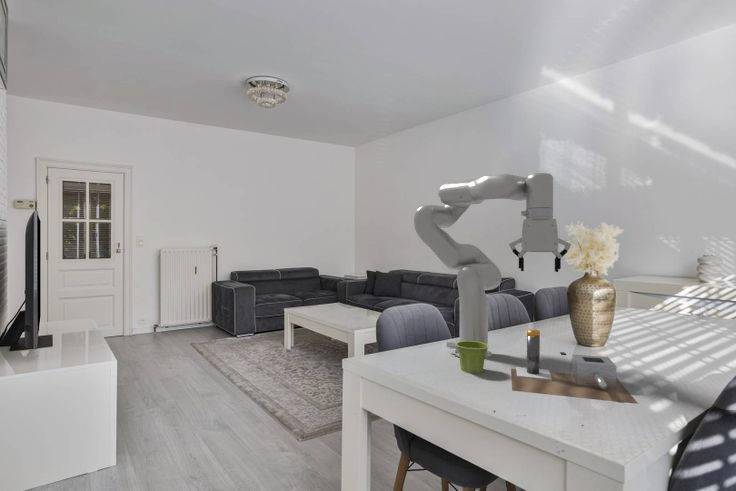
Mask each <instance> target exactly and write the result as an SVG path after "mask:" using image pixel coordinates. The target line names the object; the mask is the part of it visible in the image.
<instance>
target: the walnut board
mask: <svg viewBox="0 0 736 491" xmlns="http://www.w3.org/2000/svg"><path fill="white" fill-rule="evenodd" d="M549 372H550V375H551V377H552V381H549V380H538V379H528V378H517V372H516V368H510V373H511V374H510V376H511V390H512V391H514V392H523V393H531V394H539V395H540V394H543V395H550V396H551V395H552V396H553V395H554V396H560V397H569V398H571V397H572V398H580V399H588V400H596V401H597V400H598V401H609V402H617V403H627V404H635V405H636V404H637V405H638V404H639V402H638V401H637V400H636V399H635V398H634V396H632V394H631V393H630V392H629V391H628V390H627V388H626V387H625V386H624V385H623V384H622V382H621V381H620V380H619V379H618V378H617V377H616V389H608V388H605V389H602V388H598V387H588V386H578V385H577V384H576V382H575V380H574V378H573V376H572V373H565V372H555V371H553V372H552V371H549Z"/></svg>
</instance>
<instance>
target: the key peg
mask: <svg viewBox="0 0 736 491" xmlns="http://www.w3.org/2000/svg"><path fill="white" fill-rule="evenodd" d="M540 336H541V331H540V330H538V329H527V330H526V368H527V373H529V374H539V371H540V369H541V368H540V367H541V366H540V363H541V362H540V359H541V358H540V354H541V353H540V351H541V350H540V348H541V342H540V341H541V340H540V339H541V337H540Z"/></svg>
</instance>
